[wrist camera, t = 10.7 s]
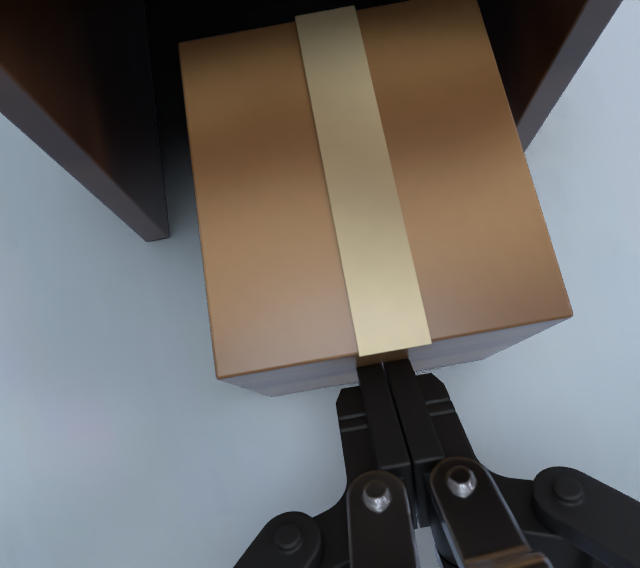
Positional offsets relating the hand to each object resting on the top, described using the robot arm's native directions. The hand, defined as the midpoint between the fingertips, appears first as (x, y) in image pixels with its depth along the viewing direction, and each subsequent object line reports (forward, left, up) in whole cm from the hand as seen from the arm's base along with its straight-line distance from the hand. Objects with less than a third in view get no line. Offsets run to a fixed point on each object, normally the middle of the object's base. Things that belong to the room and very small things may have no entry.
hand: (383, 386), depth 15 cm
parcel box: (+2, +5, -4) cm, 7 cm away
